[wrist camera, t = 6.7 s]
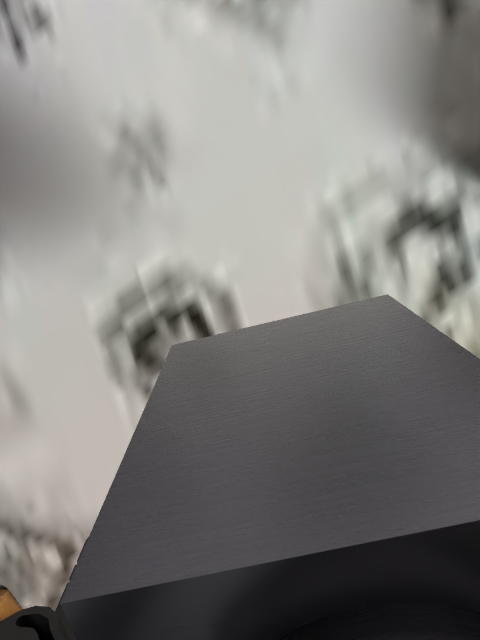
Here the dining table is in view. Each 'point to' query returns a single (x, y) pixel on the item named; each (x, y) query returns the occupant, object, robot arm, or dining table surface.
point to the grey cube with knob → (296, 489)
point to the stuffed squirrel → (7, 604)
